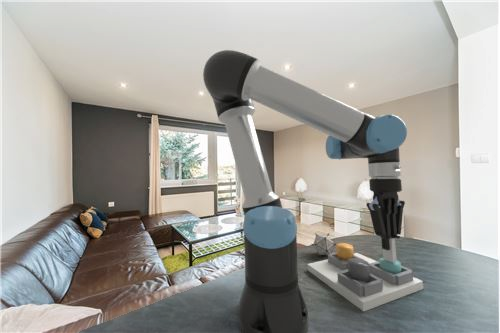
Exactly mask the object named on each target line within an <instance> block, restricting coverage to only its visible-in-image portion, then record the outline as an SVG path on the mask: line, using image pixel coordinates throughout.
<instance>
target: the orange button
mask: <svg viewBox="0 0 500 333" xmlns="http://www.w3.org/2000/svg"><path fill="white" fill-rule="evenodd" d="M335 244H336V246H335V250H336V251H335V253H336V254H337V257H338V258H340V259H343V260H348V259H350V258H354V253H355V252H354V246H353V245H352V244H350V243H346V242H338V243H335Z"/></svg>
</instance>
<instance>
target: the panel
mask: <svg viewBox="0 0 500 333" xmlns="http://www.w3.org/2000/svg"><path fill="white" fill-rule="evenodd" d="M354 258H358V259H362V260H365V261H367V262H368V263H369V264H370V280H369V281H358V280H355V279H353V278H351V277H350V276H349V275H348V260H343V259H340V258H338V257H337V254H336V252H332V253H331V254H329V255H327V259H324V260H319V261H315V262H310V263H307V271H308V272H309V273H311V274H312V275H313V276H315V277H317V279H319V280H320V281H322V283H325V284H326V285H327V286H328V287H330V288H331V289H332V290H334V291H335V292H336V293H338V294H339V295H340V296H342V297H344V299H345V300H347V301H349V302H350V303H351V304H353V305H354V306H355V307H357V308H358V309H360V310H361V312H366V311H368V310H371V309H375V308H377V307H381V306H382V305H384V304H388V303H390V302H392V301H395V300H398V299H401V298H404V297H406V296H408V295H411V294H413V293H416V292H419V291H422V290H424V281H423V280H421V279H419V278H417V277H414V270H413V269H410V268H407V267H405V266H403V265H401V273H398V274H395V275H394V274H392V273H390V272H387V271H385V270H383V269H381V268H380V267H379V260H378V261H377V260H374V259H373V258H371V257H368V256H365V255H363V254H360V253H358V252H354Z"/></svg>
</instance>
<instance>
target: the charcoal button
mask: <svg viewBox="0 0 500 333" xmlns="http://www.w3.org/2000/svg"><path fill="white" fill-rule="evenodd" d="M348 275H349V276H350V277H351V278H353V279H355V280H358V281H369V280H370V264H369V263H368V262H367V261H365V260H362V259H358V258H350V259H348Z"/></svg>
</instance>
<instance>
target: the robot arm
mask: <svg viewBox="0 0 500 333" xmlns="http://www.w3.org/2000/svg"><path fill="white" fill-rule="evenodd" d="M202 75H203V76H202V77H203V83H204V86H205V88H206V90H207V92H208V93H209V95H210V97H211V98H212V100H213V104H214V107H215V112H216V115H217V119H218V121H219V122H220V123H221V124H224V125H225V129H226V134H227V136H228V140H229V143H230V144H229V145H230V148H231V152H232V155H233V159H234V163H235V167H236V170H237V174H238V177H239V181H240V185H241V189H242V193H243V195H244V202H243V203H242V206H241V209H242V212H243V216H244V218H243V223H242V224H243V225H242V230H243V233H244V234H243V236H244V237H243V241H244V277H245V278H244V279H245V280H244V285H243V289H242V292H241V296H240V299H239V302H238V306H237V322H238V326H239V330H240V332H241V331H242V332H243V333H308V330H309V313H308V308H307V305H306V301H305V299H304V296H303V293H302V291H301V288H300V284H299V273H298V272H299V269H298V245H297V244H298V241H297V234H298V226H297V222H296V217H295V215H294V213H293V212H292V211H291V210H289V209H287V208H283V205H282V201H281V198H280V195H278V194H277V193H275V192H274V191H273V187H272V185H271V181H270V176H269V174H268V170H267V167H266V163H265V160H264V156H263V153H262V149H261V145H260V142H259V138H258V134H257V131H256V128H255V124H254V121H253V116H254V114H255V112H256V110H255V106H254V102H256V103H258V104H260V105H262V106H264V107H267V108H269V109H271V110H273V111H276V112H278V113H279V114H282V115H284V116H287V117H288V118H291V119H294V120H296V121H297V122H299V123H302V124H304V125H306V126H308V127H311V128H313V129H315V130H317V131H319V132H321V133H324V134H326V135H328V136H327V138H326V139H325V140H326V141H325V154H326V155H327V157H328V158H329V159H331V160H339V161H340V160H347V159H350V160H351V159H367V161H368V163H367V166H368V177H369V178H370V179H369V183H368V184H369V190H370V191H371V192H373V195H372V201H371V202H366V207H367V208H368V209H367V210H368V211H369V214H370V218H371V222H372V223H371V224H372V227H373V232H374V235H375V236H377V237H379V238H381V240H380V241H381V249H382V258H383V259H384V260H387V261H389V262H392V263H395V262H397V261H398V260H397V248H396V247H397V243H396V239H400V238H401V236H400V235H401V234H402V227H403V226H402V223H403V215H404V208H405V204H406V203H405V201H404V200H401V199H400V198H399V194H398V193H400V192H402V190H403V189H402V188H403V187H402V186H403V185H402V179H401V178H399V177H401V164H400V147H401V146H402V145H403V144H404V142H405V141H406V138H407V136H408V128H407V125H406V124H405V122H404V121H403V119H401V118H400V117H399V116H397V115H394V114H384V115H378V116H373V115H370V114H368V113H366V112H364V111H361V110H359V109H357V108H355V107H352V106H350V105H347V104H346V103H344V102H341V101H339V100H336V99H334V98H332V97H330V96H328V95H326V94H323V93H321V92H319V91H317V90H315V89H314V88H313V89H312V88H310V87H309V86H305V85H303V84H301V83H299V82H297V81H294V80H293V79H290V78H288V77H286V76H284V75H281V74H280V73H278V72H275V71H274V70H270V69H268V68H266V67H264V66H263V65H262V62H261V60H260V59H258V58H256V57H253V56H252V55H250V54H247V53H245V52H244V53H243V52H240V51H238V50H233V49H230V50H229V49H228V50H227V49H224V50H220V51H217V52H215V53H214V54H213V55H211V56H210V57H209V58H208V59H207V60H206V63H205V65H204V68H203V74H202ZM253 101H254V102H253ZM242 332H241V333H242Z"/></svg>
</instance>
